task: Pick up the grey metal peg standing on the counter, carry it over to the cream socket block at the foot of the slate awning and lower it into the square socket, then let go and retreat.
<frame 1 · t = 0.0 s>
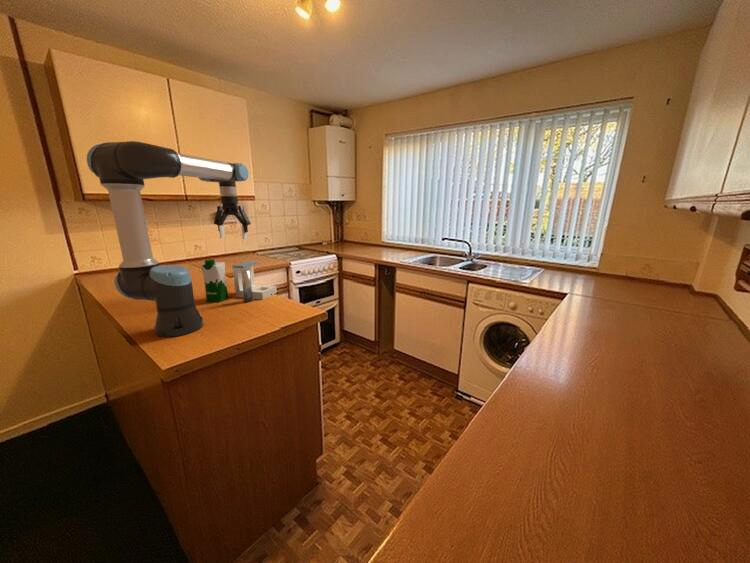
hand: (234, 238, 153), 28 cm above the countertop, fingers open, 13 cm apart
awning socket: (256, 294, 153), on the countertop
milk carton: (218, 300, 145), on the countertop
peg: (248, 301, 143), on the countertop
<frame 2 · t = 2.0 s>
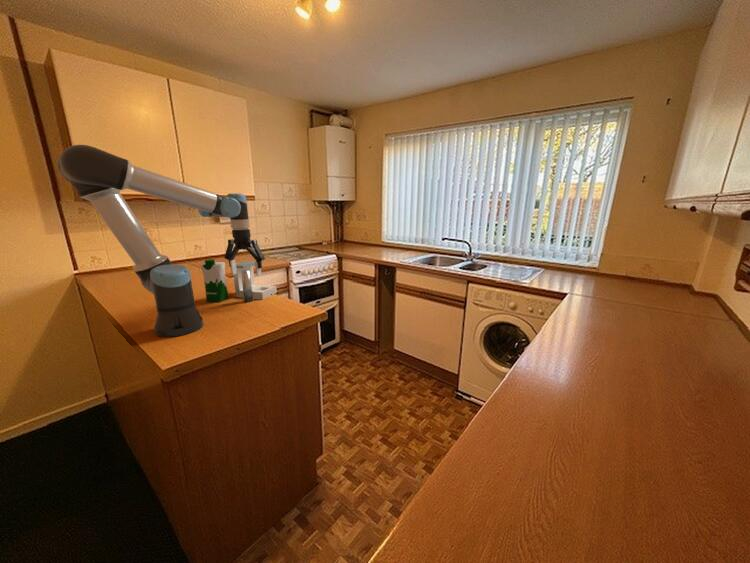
hand: (246, 274, 140), 13 cm above the countertop, fingers open, 13 cm apart
nothing on the countertop moved.
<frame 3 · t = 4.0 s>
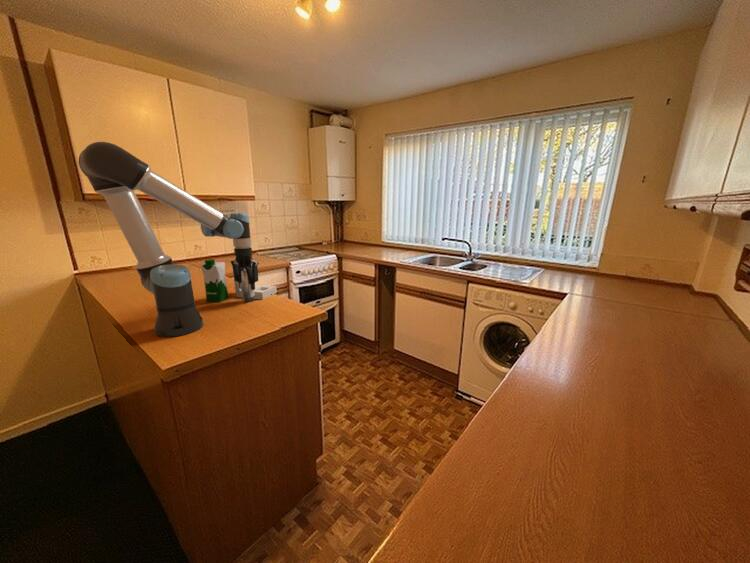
hand: (248, 295, 142), 3 cm above the countertop, fingers closed on peg, 4 cm apart
peg: (248, 300, 143), on the countertop, touching gripper
everything else where it was.
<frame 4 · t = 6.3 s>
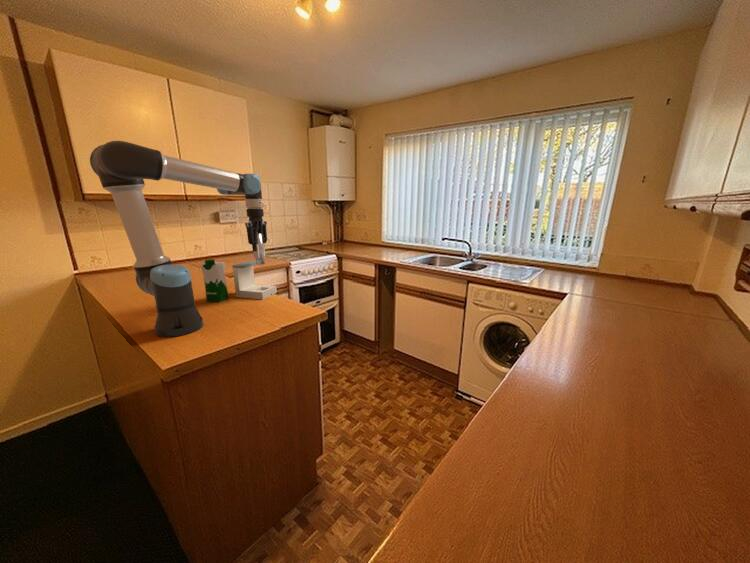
hand: (259, 256, 147), 20 cm above the countertop, fingers closed on peg, 4 cm apart
peg: (260, 264, 148), point 16 cm above the countertop, touching gripper
everything else where it was.
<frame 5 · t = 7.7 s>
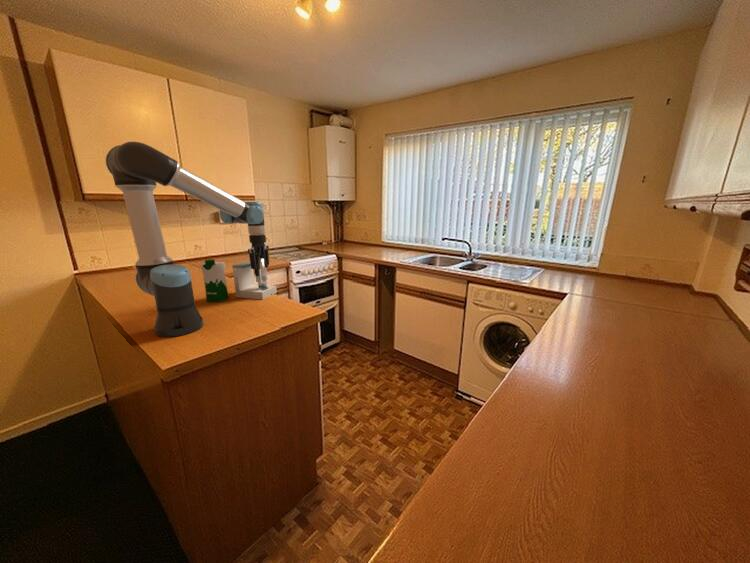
hand: (261, 280, 150), 8 cm above the countertop, fingers closed on peg, 4 cm apart
peg: (262, 287, 151), point 4 cm above the countertop, touching gripper
everything else where it was.
when the fingers open (5 cm above the countertop, at t = 8.9 s): peg drops 1 cm, resting in awning socket.
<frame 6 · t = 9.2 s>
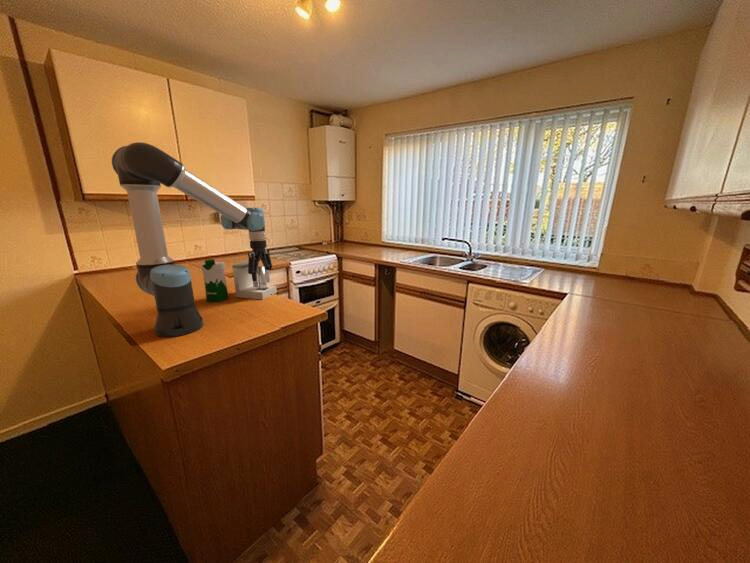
hand: (262, 284, 150), 6 cm above the countertop, fingers open, 9 cm apart
peg: (263, 295, 152), resting in awning socket
everything else where it was.
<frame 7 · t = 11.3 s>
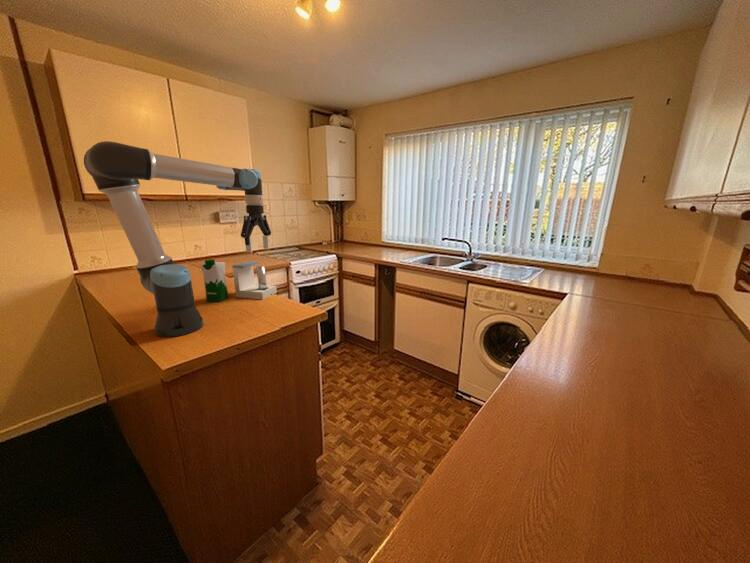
hand: (258, 250, 142), 24 cm above the countertop, fingers open, 13 cm apart
nothing on the countertop moved.
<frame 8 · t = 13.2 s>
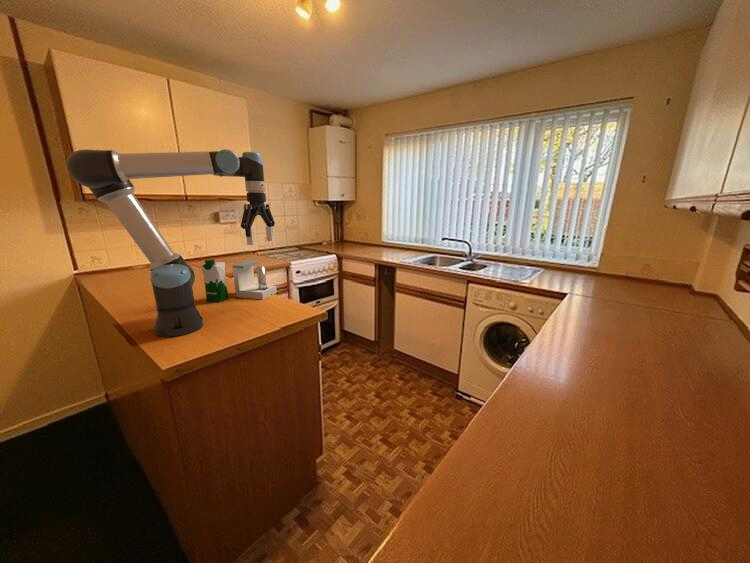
hand: (260, 242, 130), 29 cm above the countertop, fingers open, 13 cm apart
nothing on the countertop moved.
at the end: peg 0.0 cm from the target spot on the awning socket, point 0.0 cm above the awning socket's base; peg tilted 0°; the gripper is holding nothing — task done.
